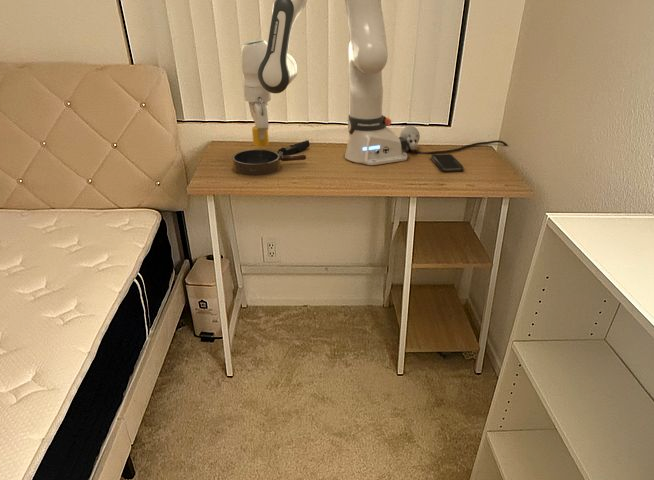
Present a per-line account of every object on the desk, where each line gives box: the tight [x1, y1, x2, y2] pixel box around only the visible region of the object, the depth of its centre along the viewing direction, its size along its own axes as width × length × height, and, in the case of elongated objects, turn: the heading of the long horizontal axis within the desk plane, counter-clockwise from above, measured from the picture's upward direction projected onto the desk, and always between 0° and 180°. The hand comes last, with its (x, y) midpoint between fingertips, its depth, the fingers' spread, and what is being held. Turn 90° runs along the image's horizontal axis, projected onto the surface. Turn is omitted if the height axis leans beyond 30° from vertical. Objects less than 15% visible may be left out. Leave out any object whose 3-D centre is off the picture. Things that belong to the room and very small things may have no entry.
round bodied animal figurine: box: [399, 125, 421, 153], centre depth 203 cm, size 7×12×8 cm, turn 5°
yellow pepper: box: [251, 125, 269, 147], centre depth 197 cm, size 5×5×6 cm
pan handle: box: [280, 153, 307, 162], centre depth 189 cm, size 9×2×2 cm, turn 105°
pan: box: [231, 149, 281, 177], centre depth 187 cm, size 16×16×4 cm
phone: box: [430, 153, 464, 173], centre depth 194 cm, size 8×1×15 cm
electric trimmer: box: [276, 139, 310, 157], centre depth 202 cm, size 4×16×3 cm, turn 142°
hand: (260, 136), depth 198 cm, fingers closed on yellow pepper, 5 cm apart
